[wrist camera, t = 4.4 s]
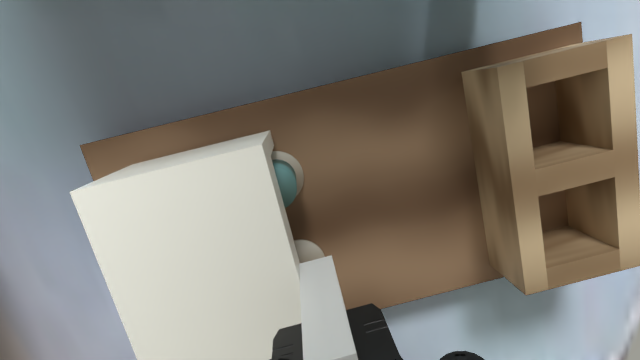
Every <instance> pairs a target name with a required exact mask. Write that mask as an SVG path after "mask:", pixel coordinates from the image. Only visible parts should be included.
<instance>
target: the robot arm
mask: <svg viewBox="0 0 640 360" xmlns="http://www.w3.org/2000/svg"><path fill="white" fill-rule="evenodd" d="M299 275H300V302H301V323H300V324H296V325H293V326H289V327H285V328H282V329H279V330H278V332H277V334H276V335H275V337H274V339H273V347H272V350H273V351H272V359H270V360H403V359H402V358H401V356H400V355H399V352H398V350H397V348H396V345H395V343H394V340H393V338H392V336H391V333H390V331H389V328H388V326H387V324H386V321H385V319H384V316H383V314H382V312H381V309H379V308H378V307H377V306H375V305H374V304H372V303H371V304H367V305H363V306H359V307H356V308H352V309H348V310H346V308H345V304H344V300H343V297H342V293H341V289H340V285H339V281H338V278H337V274H336V270H335V266H334V262H333V259H332V255H330V256H327V257H323V258H319V259H315V260H312V261H308V262H304V263H300V264H299ZM440 360H484V359H483V358H482V357H480V356H478V355H477V354H475V353H471V352H467V351H455V352H452V353H448V354H446V355H445V356H443V357H442V358H441V359H440Z"/></svg>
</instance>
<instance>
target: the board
mask: <svg viewBox="0 0 640 360" xmlns="http://www.w3.org/2000/svg"><path fill="white" fill-rule="evenodd" d="M269 130H270V132H271V136H272V140H273V144H274V147H273V151H272V154H271V159H272V163H273V166H274V170H275V174H276V177H277V181H278V185H279V188H280V192H281V196H282V199H283V203H284V207H285V210H286V214H287V218H288V221H289V225H290V229H291V232H292V236H293V240H294V243H295V247H296V251H297V254H298V258H299V262H300V263H304V262H308V261H312V260H315V259H319V258H323V257H327V256H330V255H332V259H333V262H334V266H335V270H336V274H337V278H338V281H339V285H340V289H341V293H342V297H343V300H344V304H345V308H346V310H348V309H352V308H356V307H359V306H363V305H367V304H371V303H372V304H374V305H375V306H377V307H378V308H379V309H382V308H386V307H390V306H394V305H398V304H402V303H406V302H409V301H413V300H417V299H421V298H425V297H429V296H433V295H437V294H440V293H444V292H448V291H452V290H456V289H460V288H464V287H467V286H471V285H475V284H479V283H483V282H487V281H491V280H494V279H498V278H502V277H505V278H506V279H507V280H508V281H510V282H511V283H512V284H513V285H514V286H516V287H517V288H518V289H519V290H520V291H521V292H523V293H524V294H525V295H530V294H533V293H537V292H541V291H545V290H549V289H553V288H556V287H560V286H564V285H568V284H572V283H576V282H579V281H583V280H587V279H591V278H595V277H599V276H602V275H606V274H610V273H614V272H618V271H622V270H626V269H629V268H633V267H637V266H640V190H639V170H638V149H637V128H636V107H635V87H634V66H633V45H632V34H629V35H623V36H618V37H612V38H606V39H601V40H595V41H590V42H584V43H583V40H582V27H581V22H579V23H575V24H571V25H567V26H563V27H559V28H554V29H550V30H546V31H542V32H538V33H534V34H530V35H526V36H522V37H518V38H514V39H510V40H506V41H502V42H498V43H493V44H489V45H485V46H481V47H477V48H473V49H469V50H465V51H461V52H457V53H453V54H449V55H445V56H441V57H437V58H433V59H428V60H424V61H420V62H416V63H412V64H408V65H404V66H400V67H396V68H392V69H388V70H384V71H380V72H376V73H372V74H367V75H363V76H359V77H355V78H351V79H347V80H343V81H339V82H335V83H331V84H327V85H323V86H319V87H315V88H311V89H306V90H302V91H298V92H294V93H290V94H286V95H282V96H278V97H274V98H270V99H266V100H262V101H258V102H254V103H250V104H246V105H241V106H237V107H233V108H229V109H225V110H221V111H217V112H213V113H209V114H205V115H201V116H197V117H193V118H189V119H185V120H180V121H176V122H172V123H168V124H164V125H160V126H156V127H152V128H148V129H144V130H140V131H136V132H132V133H128V134H124V135H119V136H115V137H111V138H107V139H103V140H99V141H95V142H91V143H87V144H83V145H80V147H81V150H82V153H83V155H84V158H85V160H86V163H87V166H88V168H89V171H90V173H91V176H92V178H93V181H96V180H98V179H100V178H102V177H105V176H107V175H109V174H112V173H114V172H116V171H118V170H121V169H123V168H125V167H128V166H130V165H132V164H136V163H140V162H144V161H148V160H152V159H156V158H160V157H164V156H168V155H172V154H176V153H180V152H184V151H188V150H192V149H196V148H200V147H204V146H208V145H212V144H216V143H220V142H225V141H229V140H233V139H237V138H241V137H245V136H249V135H253V134H257V133H261V132H265V131H269Z"/></svg>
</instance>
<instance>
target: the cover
mask: <svg viewBox="0 0 640 360" xmlns="http://www.w3.org/2000/svg"><path fill="white" fill-rule="evenodd" d="M273 147H274V144H273V140H272V136H271V132H270V130H269V131H265V132H261V133H257V134H253V135H249V136H245V137H241V138H237V139H233V140H229V141H225V142H220V143H216V144H212V145H208V146H204V147H200V148H196V149H192V150H188V151H184V152H180V153H176V154H172V155H168V156H164V157H160V158H156V159H152V160H148V161H144V162H140V163H136V164H132V165H130V166H128V167H125V168H123V169H121V170H118V171H116V172H114V173H112V174H109V175H107V176H105V177H102V178H100V179H98V180H96V181H93V182H91V183H89V184H87V185H84V186H82V187H80V188H77V189H75V190H73V191H71V192H70V194H71V197H72V199H73V202H74V204H75V207H76V209H77V212H78V214H79V217H80V219H81V222H82V224H83V227H84V229H85V231H86V234H87V236H88V239H89V241H90V244H91V246H92V249H93V251H94V254H95V256H96V259H97V261H98V264H99V266H100V269H101V271H102V274H103V276H104V278H105V281H106V283H107V286H108V288H109V291H110V293H111V296H112V298H113V301H114V303H115V306H116V308H117V311H118V313H119V316H120V318H121V320H122V323H123V325H124V328H125V330H126V333H127V335H128V338H129V340H130V343H131V345H132V348H133V350H134V353H135V355H136V358H137V360H270V359H272V351H273V350H272V347H273V339H274V337H275V335H276V334H277V332H278V330H279V329H282V328H285V327H289V326H293V325H296V324H300V323H301V302H300V275H299V264H300V262H299V258H298V254H297V251H296V247H295V243H294V240H293V236H292V232H291V229H290V225H289V221H288V218H287V214H286V210H285V207H284V203H283V199H282V196H281V192H280V188H279V185H278V181H277V177H276V174H275V170H274V166H273V163H272V159H271V154H272V151H273Z"/></svg>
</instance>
